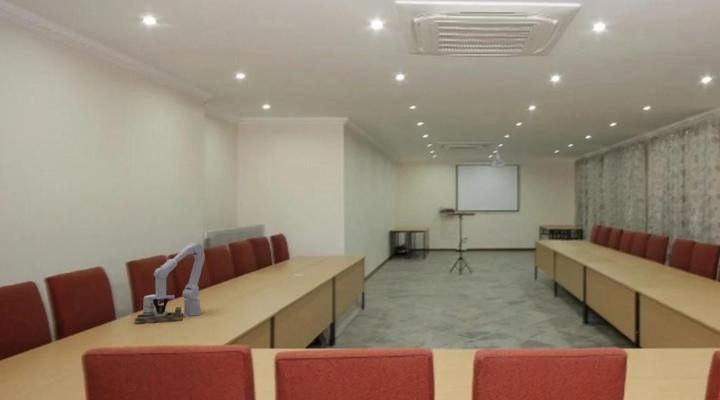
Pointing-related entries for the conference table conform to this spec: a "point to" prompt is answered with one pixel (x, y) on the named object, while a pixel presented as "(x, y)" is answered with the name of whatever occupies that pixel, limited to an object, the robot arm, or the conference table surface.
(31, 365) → the conference table surface
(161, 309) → the carriage
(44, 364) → the conference table surface
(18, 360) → the conference table surface
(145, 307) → the ink box
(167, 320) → the board
